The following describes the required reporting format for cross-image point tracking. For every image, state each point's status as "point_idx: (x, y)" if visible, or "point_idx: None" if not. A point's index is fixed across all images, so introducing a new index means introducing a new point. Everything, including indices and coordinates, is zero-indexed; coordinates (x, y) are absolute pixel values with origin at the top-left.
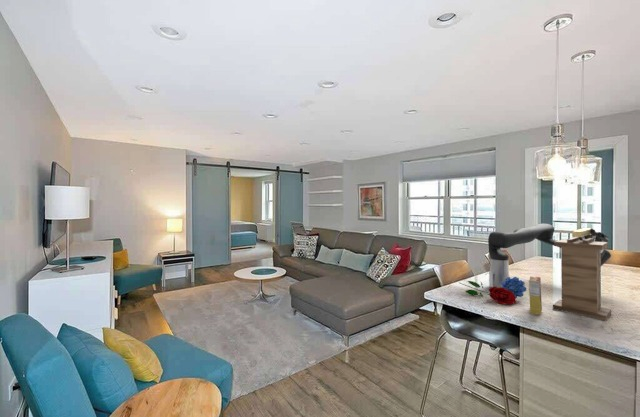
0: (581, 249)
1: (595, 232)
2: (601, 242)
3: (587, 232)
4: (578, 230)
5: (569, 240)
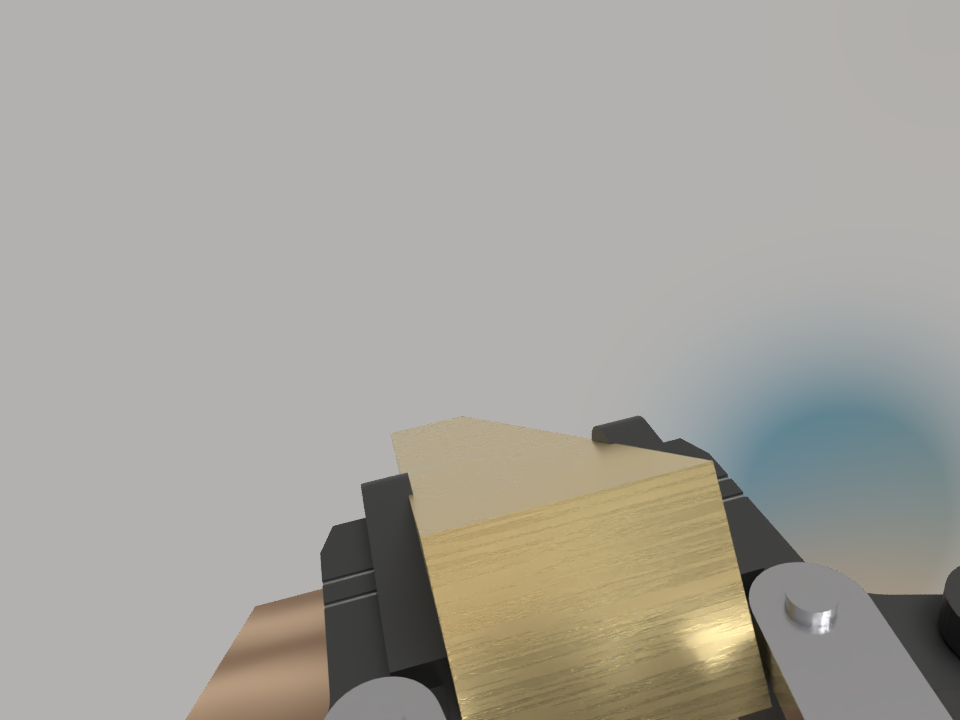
0: None
1: (334, 690)
2: (250, 708)
3: None
4: (452, 427)
5: None
